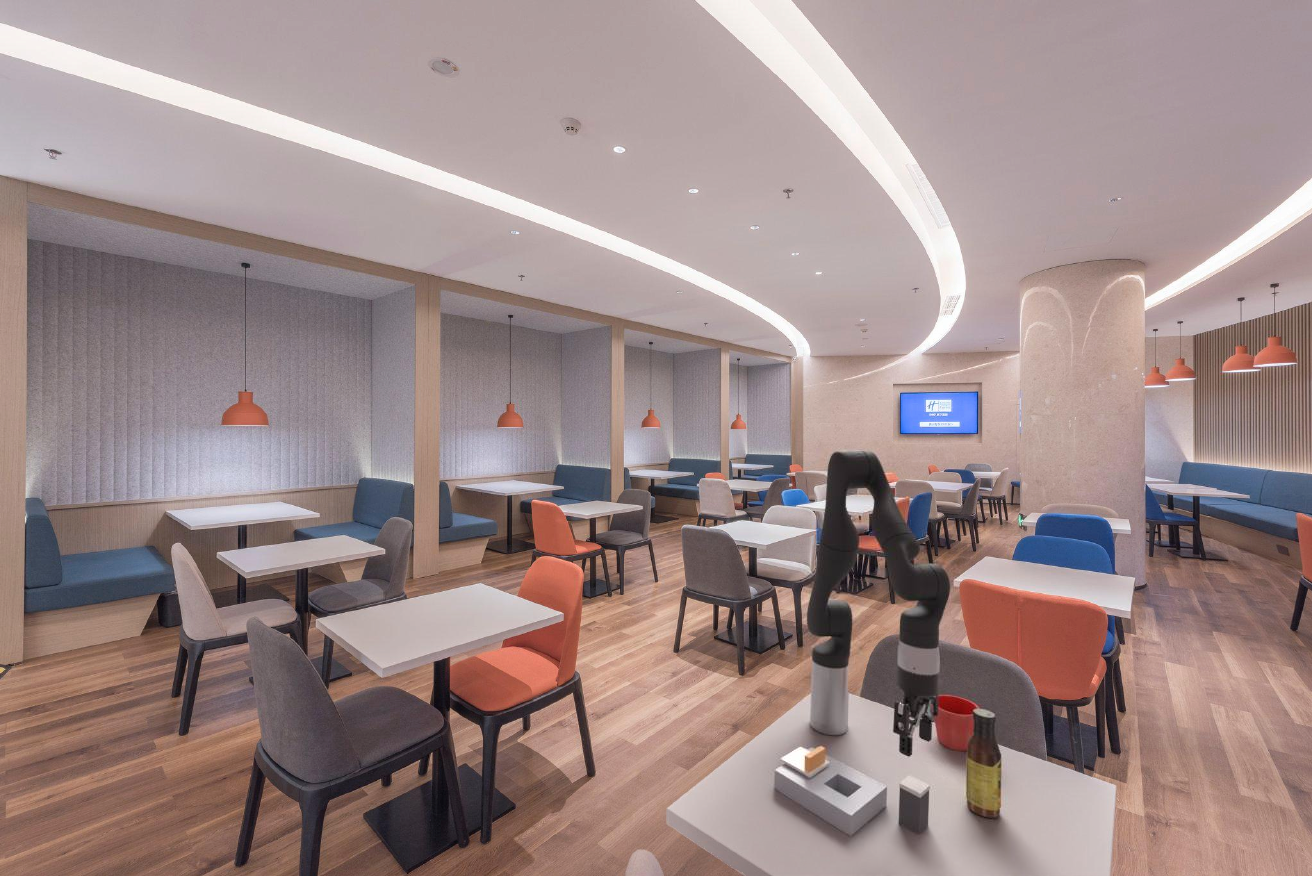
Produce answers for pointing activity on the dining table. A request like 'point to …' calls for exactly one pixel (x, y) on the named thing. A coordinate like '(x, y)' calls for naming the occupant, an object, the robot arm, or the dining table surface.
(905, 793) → the plug
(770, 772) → the dining table surface
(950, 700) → the flower pot
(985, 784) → the sauce bottle
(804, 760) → the shutter
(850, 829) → the socket block
